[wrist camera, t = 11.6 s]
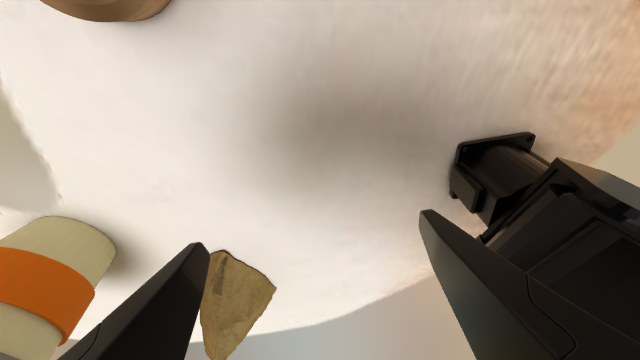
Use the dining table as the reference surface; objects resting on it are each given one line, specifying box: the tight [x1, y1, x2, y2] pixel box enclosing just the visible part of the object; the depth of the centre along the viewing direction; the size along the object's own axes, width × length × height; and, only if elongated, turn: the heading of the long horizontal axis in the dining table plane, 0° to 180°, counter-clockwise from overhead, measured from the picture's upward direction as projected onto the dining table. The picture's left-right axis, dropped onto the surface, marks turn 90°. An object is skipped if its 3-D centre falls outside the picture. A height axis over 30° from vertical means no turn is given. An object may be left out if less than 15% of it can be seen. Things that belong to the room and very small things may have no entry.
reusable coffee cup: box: [0, 216, 116, 360], centre depth 23 cm, size 13×13×15 cm
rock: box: [200, 251, 276, 360], centre depth 30 cm, size 11×9×10 cm
